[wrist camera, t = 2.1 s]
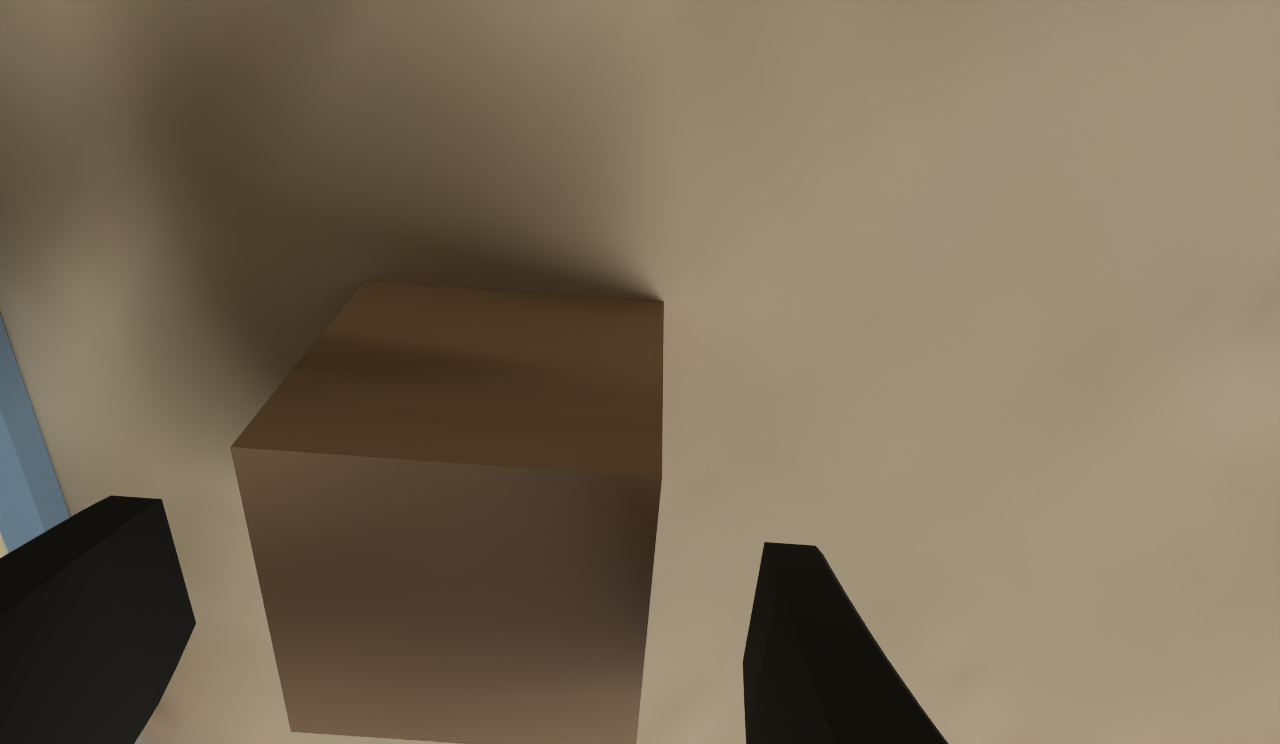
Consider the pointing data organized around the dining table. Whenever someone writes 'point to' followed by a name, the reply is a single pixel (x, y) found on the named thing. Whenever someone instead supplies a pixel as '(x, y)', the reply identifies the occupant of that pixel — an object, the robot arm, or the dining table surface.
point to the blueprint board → (23, 463)
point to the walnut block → (462, 516)
